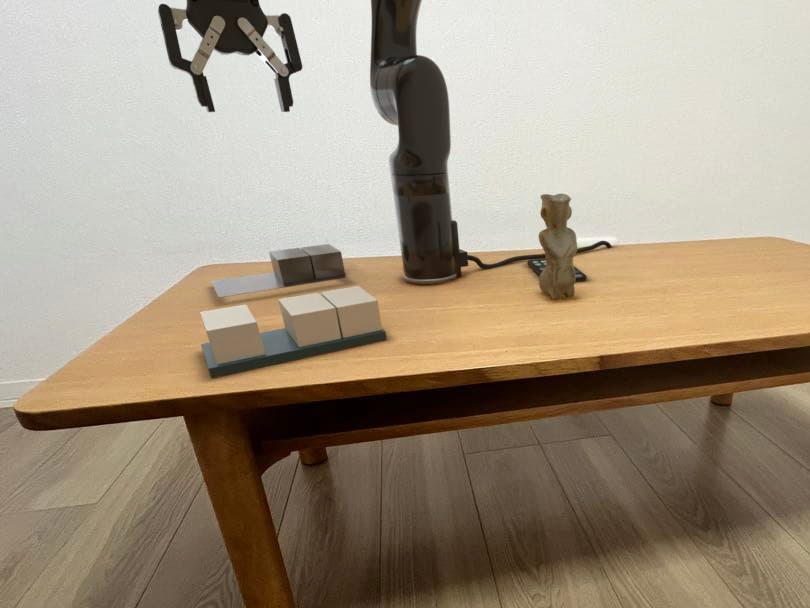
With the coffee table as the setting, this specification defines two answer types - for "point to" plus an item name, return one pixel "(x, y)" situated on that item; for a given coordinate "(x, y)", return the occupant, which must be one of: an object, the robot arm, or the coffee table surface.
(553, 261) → the sculpture
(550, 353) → the coffee table surface
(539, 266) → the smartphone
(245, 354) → the beige block
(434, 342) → the coffee table surface
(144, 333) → the coffee table surface
